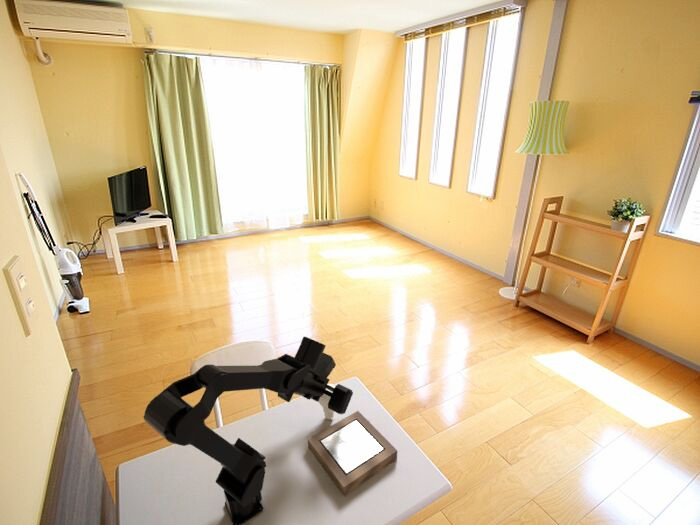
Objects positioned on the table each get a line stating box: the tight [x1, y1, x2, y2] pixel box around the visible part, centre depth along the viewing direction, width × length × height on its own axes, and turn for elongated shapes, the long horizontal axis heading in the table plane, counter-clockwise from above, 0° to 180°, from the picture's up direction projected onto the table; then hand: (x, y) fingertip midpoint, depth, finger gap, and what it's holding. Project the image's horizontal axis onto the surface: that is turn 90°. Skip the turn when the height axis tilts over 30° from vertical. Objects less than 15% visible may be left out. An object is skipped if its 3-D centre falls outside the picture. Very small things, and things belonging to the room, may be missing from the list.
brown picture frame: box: [307, 410, 398, 497], centre depth 91 cm, size 16×16×3 cm
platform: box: [321, 420, 383, 475], centre depth 91 cm, size 11×11×2 cm
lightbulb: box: [318, 383, 336, 420], centre depth 101 cm, size 6×6×11 cm
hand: (332, 392), depth 101 cm, fingers open, 9 cm apart
